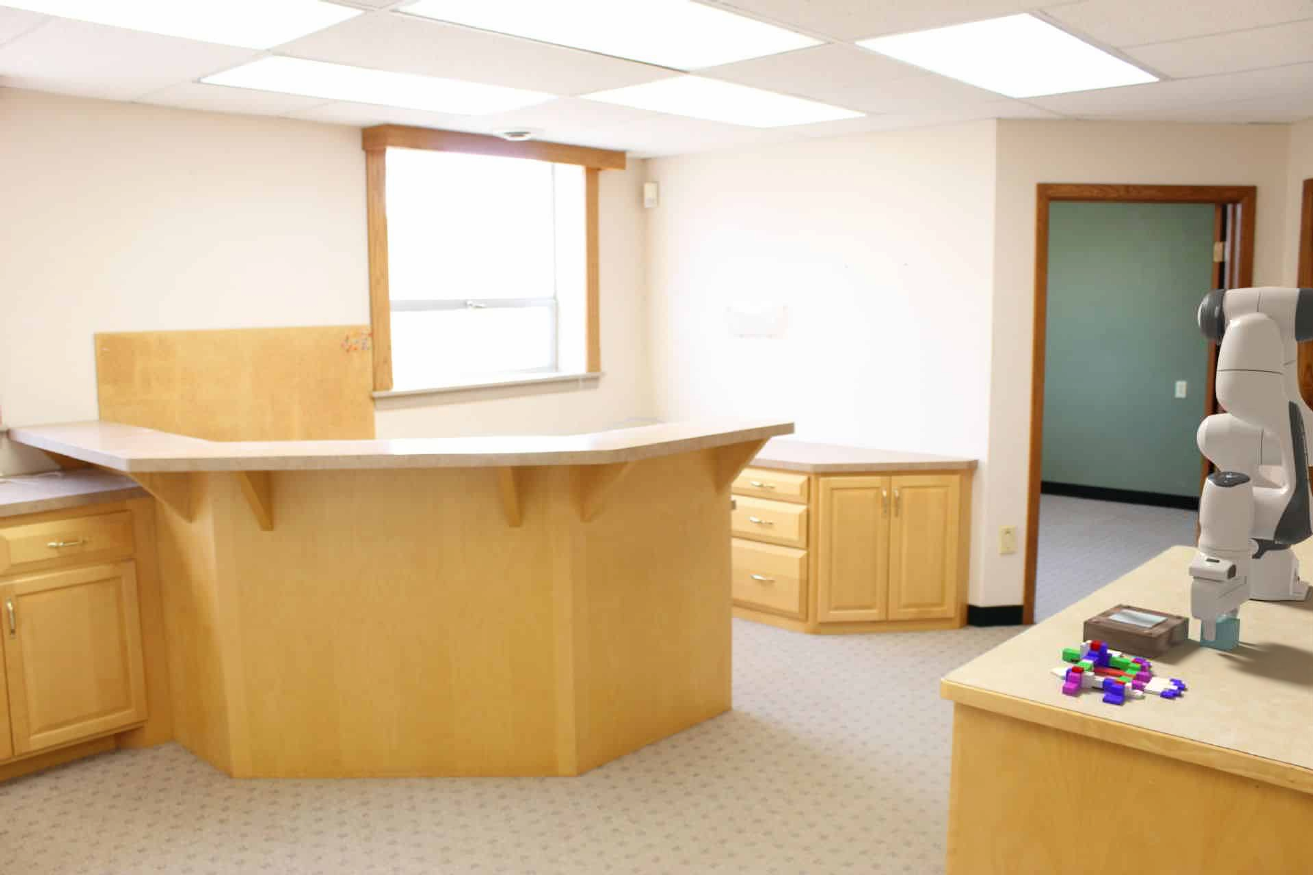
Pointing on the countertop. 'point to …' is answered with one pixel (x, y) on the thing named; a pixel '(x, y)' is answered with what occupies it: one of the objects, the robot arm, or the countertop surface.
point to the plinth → (1137, 630)
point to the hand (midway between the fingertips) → (1219, 633)
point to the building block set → (1112, 674)
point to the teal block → (1223, 634)
